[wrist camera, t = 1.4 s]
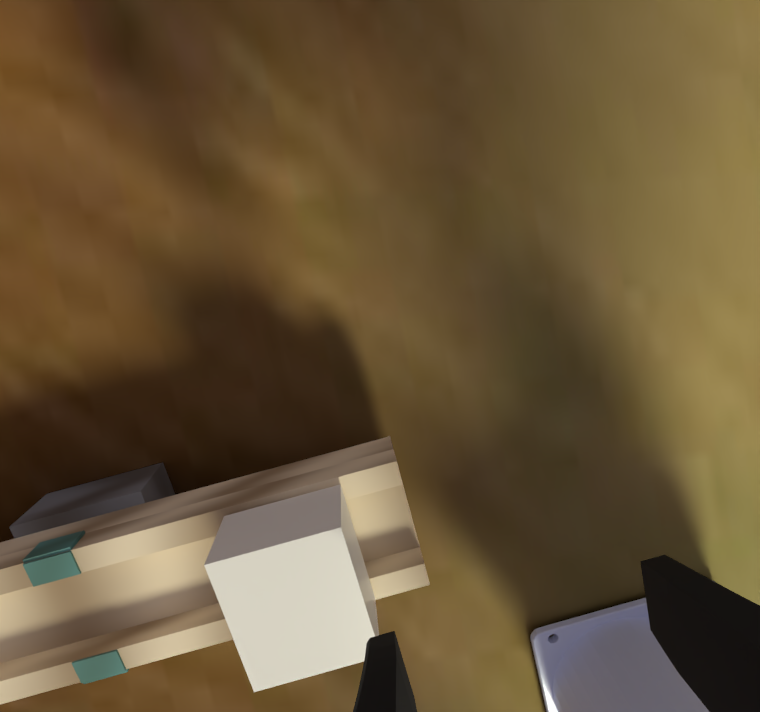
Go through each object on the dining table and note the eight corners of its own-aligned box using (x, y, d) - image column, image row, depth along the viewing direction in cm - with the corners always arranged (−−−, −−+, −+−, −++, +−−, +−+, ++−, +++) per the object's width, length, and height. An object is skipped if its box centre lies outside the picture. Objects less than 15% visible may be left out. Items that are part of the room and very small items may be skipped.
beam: (381, 403, 22) (399, 474, 15) (414, 524, 23) (444, 638, 16) (-178, 554, 21) (-408, 696, 15) (-109, 669, 23) (-290, 844, 16)
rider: (340, 469, 18) (341, 527, 14) (373, 578, 19) (381, 656, 16) (230, 499, 18) (204, 564, 14) (269, 606, 19) (254, 691, 15)
